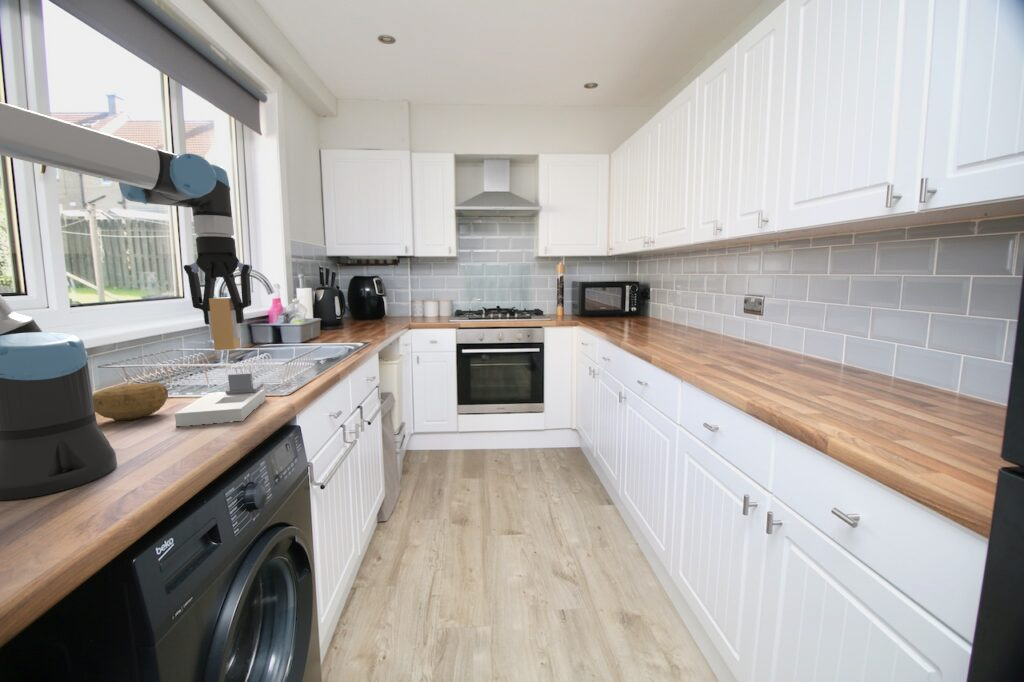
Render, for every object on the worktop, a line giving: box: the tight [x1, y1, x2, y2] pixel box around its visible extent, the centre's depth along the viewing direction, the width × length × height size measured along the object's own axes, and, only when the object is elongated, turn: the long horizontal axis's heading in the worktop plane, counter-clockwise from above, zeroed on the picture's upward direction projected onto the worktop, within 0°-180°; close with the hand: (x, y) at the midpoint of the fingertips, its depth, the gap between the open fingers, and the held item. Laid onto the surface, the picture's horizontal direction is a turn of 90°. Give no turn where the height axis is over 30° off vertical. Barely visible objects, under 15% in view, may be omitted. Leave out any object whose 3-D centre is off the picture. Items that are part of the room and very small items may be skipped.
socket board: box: [174, 388, 266, 427], centre depth 108 cm, size 18×13×3 cm
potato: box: [93, 381, 169, 421], centre depth 104 cm, size 10×14×8 cm
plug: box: [209, 296, 241, 351], centre depth 105 cm, size 4×4×12 cm
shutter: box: [224, 372, 264, 394], centre depth 116 cm, size 7×7×5 cm
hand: (226, 337), depth 106 cm, fingers closed on plug, 4 cm apart
